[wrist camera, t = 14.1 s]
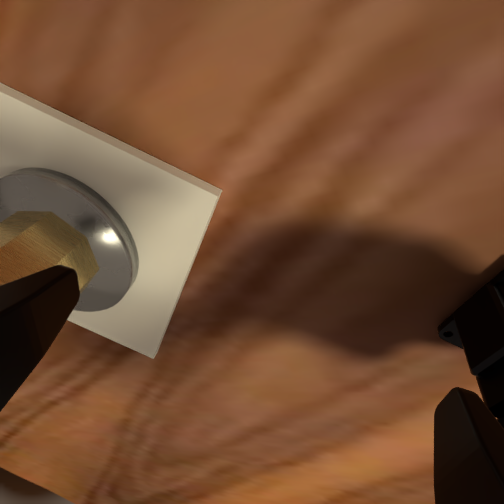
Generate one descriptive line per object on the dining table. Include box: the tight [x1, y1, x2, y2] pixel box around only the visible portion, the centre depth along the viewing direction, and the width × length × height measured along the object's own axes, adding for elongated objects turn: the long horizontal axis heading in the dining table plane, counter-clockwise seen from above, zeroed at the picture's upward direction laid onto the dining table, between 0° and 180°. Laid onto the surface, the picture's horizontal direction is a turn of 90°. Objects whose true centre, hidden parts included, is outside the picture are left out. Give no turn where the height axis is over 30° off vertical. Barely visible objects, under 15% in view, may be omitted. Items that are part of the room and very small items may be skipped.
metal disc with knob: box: [0, 167, 139, 312], centre depth 21 cm, size 10×10×6 cm
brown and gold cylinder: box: [0, 211, 99, 294], centre depth 20 cm, size 6×6×7 cm
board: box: [0, 83, 222, 359], centre depth 24 cm, size 18×16×1 cm
